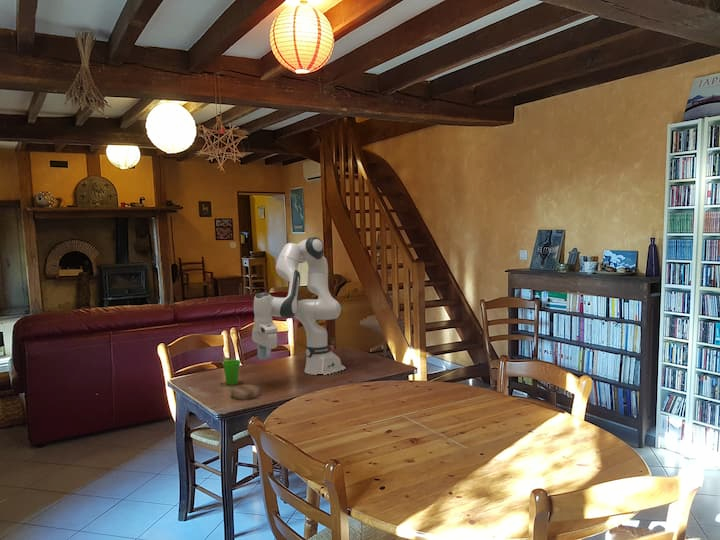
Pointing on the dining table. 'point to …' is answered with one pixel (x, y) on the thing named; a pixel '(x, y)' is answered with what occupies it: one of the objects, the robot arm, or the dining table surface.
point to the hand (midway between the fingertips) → (264, 354)
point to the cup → (231, 371)
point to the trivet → (245, 392)
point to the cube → (262, 353)
